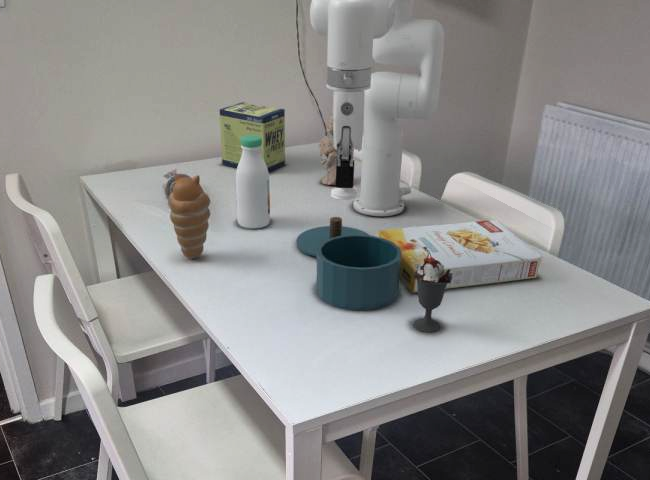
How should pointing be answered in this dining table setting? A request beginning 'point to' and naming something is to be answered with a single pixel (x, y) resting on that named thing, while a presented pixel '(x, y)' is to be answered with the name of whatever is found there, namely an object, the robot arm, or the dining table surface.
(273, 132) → the protein box
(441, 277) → the sundae
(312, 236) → the tin lid
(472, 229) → the cereal box
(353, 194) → the chess piece
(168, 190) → the spaceship
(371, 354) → the dining table surface
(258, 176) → the milk bottle
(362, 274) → the tin
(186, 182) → the cat ice cream
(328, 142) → the figurine
